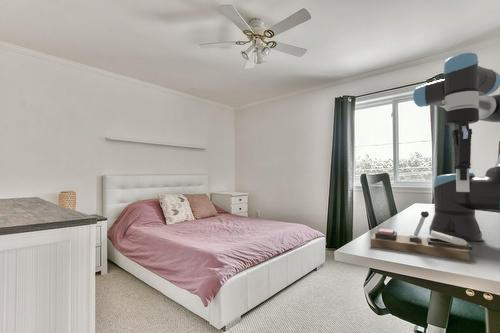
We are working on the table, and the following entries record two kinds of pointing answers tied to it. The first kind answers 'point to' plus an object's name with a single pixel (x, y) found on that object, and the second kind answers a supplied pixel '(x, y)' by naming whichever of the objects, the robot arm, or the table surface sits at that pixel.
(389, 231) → the push button
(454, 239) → the rocker switch
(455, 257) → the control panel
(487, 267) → the table surface
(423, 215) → the toggle lever
